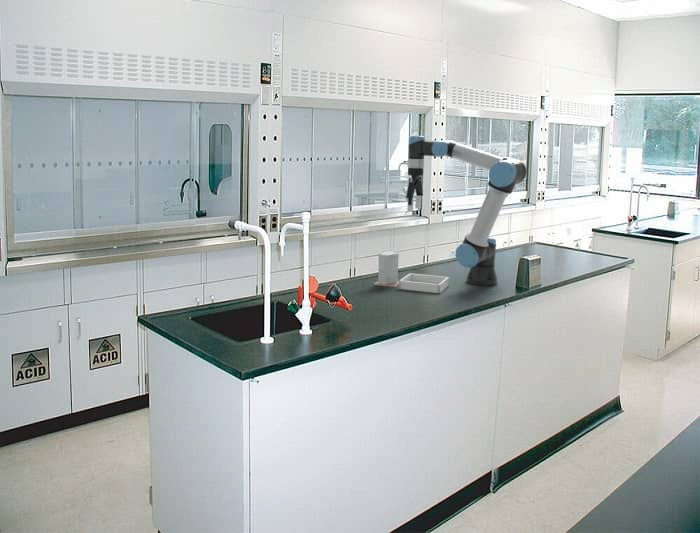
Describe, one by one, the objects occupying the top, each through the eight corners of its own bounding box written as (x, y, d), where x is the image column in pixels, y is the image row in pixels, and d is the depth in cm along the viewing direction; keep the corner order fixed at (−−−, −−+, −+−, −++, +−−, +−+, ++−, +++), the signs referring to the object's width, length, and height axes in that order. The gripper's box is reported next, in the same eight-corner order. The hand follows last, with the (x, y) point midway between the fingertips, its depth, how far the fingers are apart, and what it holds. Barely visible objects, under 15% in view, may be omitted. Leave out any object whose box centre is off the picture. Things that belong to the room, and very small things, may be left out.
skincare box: (391, 280, 345) (391, 251, 342) (398, 283, 340) (399, 253, 337) (377, 282, 340) (378, 252, 337) (384, 285, 335) (385, 254, 332)
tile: (402, 282, 344) (402, 281, 344) (395, 287, 334) (395, 285, 334) (381, 280, 348) (381, 278, 348) (374, 284, 338) (374, 283, 338)
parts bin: (448, 285, 340) (449, 277, 339) (439, 293, 324) (439, 285, 323) (409, 280, 347) (410, 273, 347) (398, 288, 331) (399, 280, 330)
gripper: (415, 165, 356) (414, 206, 361) (400, 168, 333) (399, 212, 338) (429, 166, 353) (428, 207, 358) (415, 169, 331) (414, 213, 335)
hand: (414, 210), depth 348 cm, fingers open, 13 cm apart
